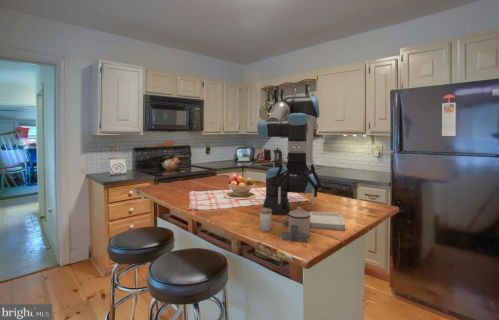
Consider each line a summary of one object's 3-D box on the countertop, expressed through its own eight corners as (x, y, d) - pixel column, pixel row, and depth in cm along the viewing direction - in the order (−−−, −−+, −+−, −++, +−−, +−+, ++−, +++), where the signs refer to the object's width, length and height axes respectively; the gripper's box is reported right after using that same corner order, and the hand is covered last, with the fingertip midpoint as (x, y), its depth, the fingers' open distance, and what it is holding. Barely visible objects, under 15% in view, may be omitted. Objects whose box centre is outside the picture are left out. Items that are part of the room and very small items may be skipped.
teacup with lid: (310, 231, 119) (311, 205, 117) (309, 239, 110) (310, 211, 109) (282, 229, 122) (282, 203, 120) (279, 236, 113) (279, 208, 112)
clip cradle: (281, 240, 109) (281, 225, 109) (285, 227, 124) (285, 214, 124) (307, 242, 107) (307, 227, 107) (307, 229, 122) (308, 215, 121)
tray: (309, 228, 123) (309, 222, 123) (309, 216, 141) (309, 211, 140) (344, 230, 120) (344, 225, 120) (340, 218, 137) (340, 213, 137)
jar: (258, 231, 119) (258, 210, 119) (260, 226, 125) (260, 207, 124) (270, 232, 118) (271, 211, 117) (272, 227, 123) (272, 207, 123)
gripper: (264, 151, 111) (264, 204, 113) (329, 153, 106) (327, 207, 108) (267, 151, 119) (267, 200, 120) (328, 152, 113) (326, 203, 115)
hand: (295, 203), depth 114 cm, fingers open, 13 cm apart
